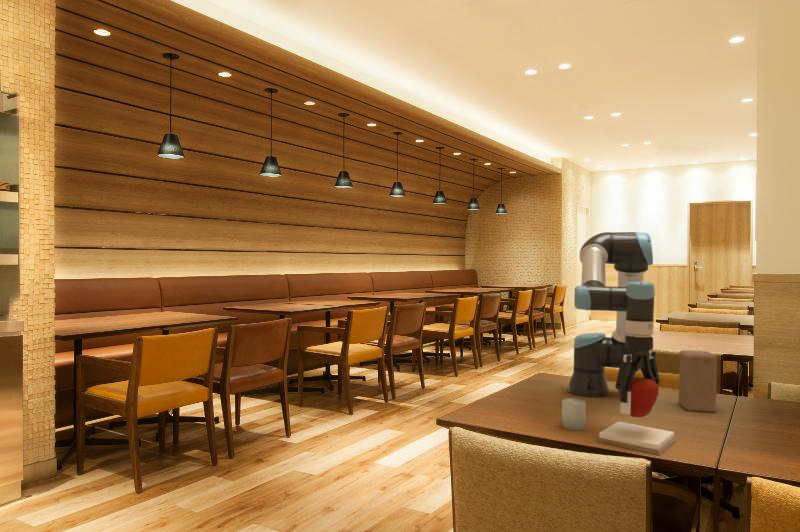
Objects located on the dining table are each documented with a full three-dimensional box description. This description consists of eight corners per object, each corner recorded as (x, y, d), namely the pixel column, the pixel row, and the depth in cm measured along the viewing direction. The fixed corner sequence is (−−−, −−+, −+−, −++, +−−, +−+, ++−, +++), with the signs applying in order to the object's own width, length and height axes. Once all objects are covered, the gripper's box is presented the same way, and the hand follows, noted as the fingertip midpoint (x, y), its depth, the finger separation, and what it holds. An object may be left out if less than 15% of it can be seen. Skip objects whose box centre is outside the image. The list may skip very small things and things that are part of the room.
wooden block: (716, 413, 201) (718, 355, 201) (685, 411, 203) (686, 353, 203) (707, 405, 211) (708, 350, 211) (677, 404, 213) (679, 349, 213)
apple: (637, 423, 161) (638, 379, 161) (609, 413, 171) (609, 372, 171) (666, 419, 165) (667, 377, 165) (637, 410, 175) (638, 370, 175)
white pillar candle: (557, 426, 181) (557, 401, 181) (569, 421, 186) (569, 397, 186) (578, 431, 176) (578, 405, 176) (589, 426, 181) (589, 401, 181)
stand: (596, 441, 167) (596, 433, 167) (617, 428, 180) (617, 420, 180) (659, 455, 156) (659, 445, 156) (676, 440, 169) (676, 431, 169)
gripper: (626, 339, 158) (625, 419, 158) (673, 334, 172) (672, 408, 172) (602, 336, 164) (601, 413, 164) (650, 331, 178) (648, 402, 178)
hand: (637, 410), depth 168 cm, fingers closed on apple, 11 cm apart
